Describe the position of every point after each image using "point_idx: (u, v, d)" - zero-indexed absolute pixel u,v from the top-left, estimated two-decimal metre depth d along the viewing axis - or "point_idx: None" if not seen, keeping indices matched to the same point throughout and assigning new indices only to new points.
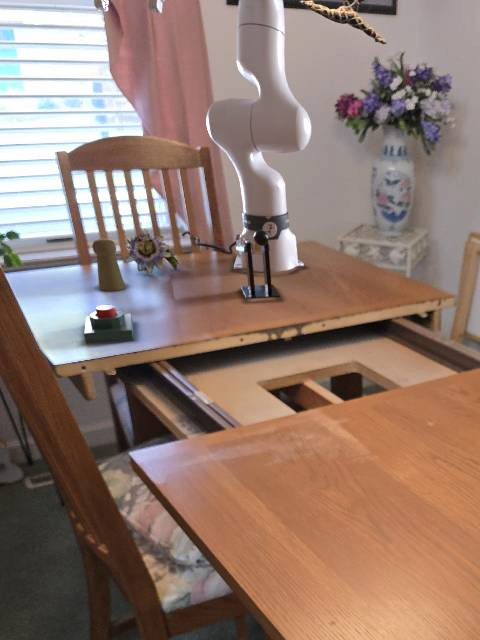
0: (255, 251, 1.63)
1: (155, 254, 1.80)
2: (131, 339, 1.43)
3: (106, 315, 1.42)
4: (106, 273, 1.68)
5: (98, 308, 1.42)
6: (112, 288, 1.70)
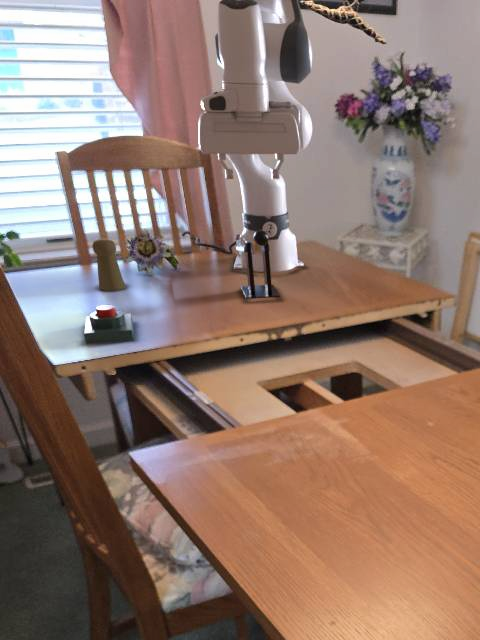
0: (255, 251, 1.63)
1: (155, 254, 1.80)
2: (131, 339, 1.43)
3: (106, 315, 1.42)
4: (106, 273, 1.68)
5: (98, 308, 1.42)
6: (112, 288, 1.70)
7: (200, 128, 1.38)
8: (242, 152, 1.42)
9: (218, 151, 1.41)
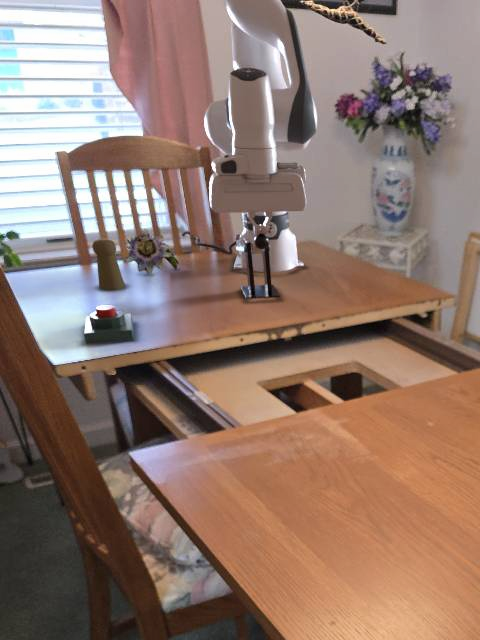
0: (255, 252, 1.63)
1: (155, 254, 1.80)
2: (131, 339, 1.43)
3: (106, 315, 1.42)
4: (106, 273, 1.68)
5: (98, 308, 1.42)
6: (112, 288, 1.70)
7: (212, 189, 1.45)
8: (251, 210, 1.49)
9: (229, 210, 1.48)
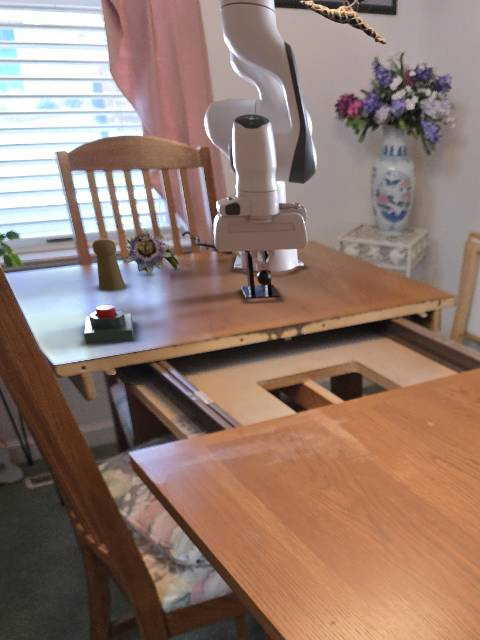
0: None
1: (155, 254, 1.80)
2: (131, 339, 1.43)
3: (106, 315, 1.42)
4: (106, 273, 1.68)
5: (98, 308, 1.42)
6: (112, 288, 1.70)
7: (216, 230, 1.50)
8: (254, 249, 1.54)
9: (232, 249, 1.53)
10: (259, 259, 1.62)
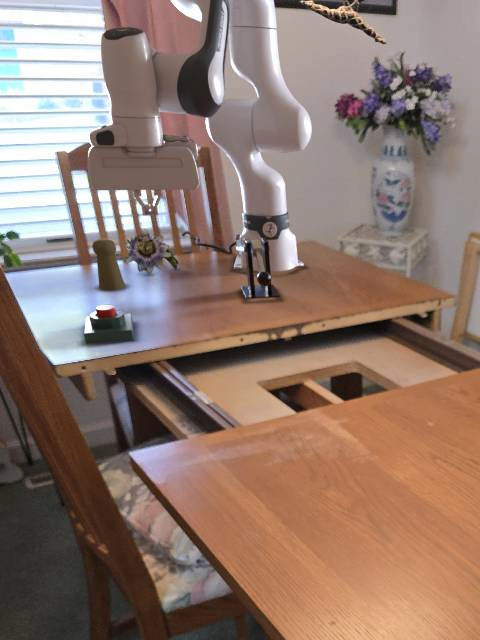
0: (255, 255, 1.65)
1: (155, 254, 1.80)
2: (131, 339, 1.43)
3: (106, 315, 1.42)
4: (106, 273, 1.68)
5: (98, 308, 1.42)
6: (112, 288, 1.70)
7: (88, 164, 1.30)
8: (136, 188, 1.35)
9: (110, 187, 1.33)
10: (259, 259, 1.62)
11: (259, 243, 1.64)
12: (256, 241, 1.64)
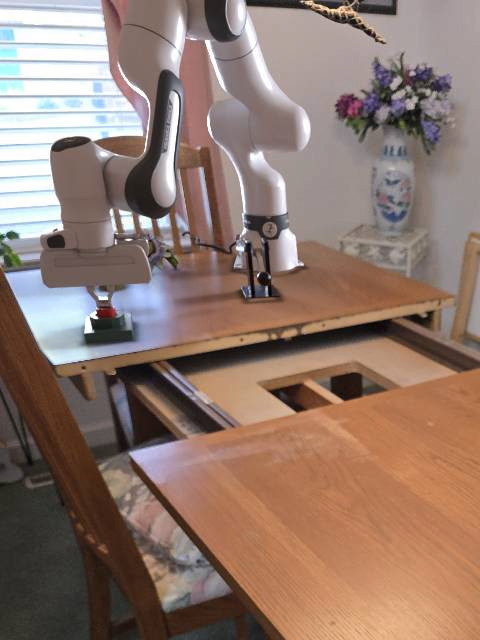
0: (255, 255, 1.65)
1: (155, 254, 1.80)
2: (131, 339, 1.43)
3: (106, 315, 1.42)
4: None
5: (98, 308, 1.42)
6: None
7: (41, 265, 1.33)
8: (89, 284, 1.38)
9: (63, 285, 1.37)
10: (259, 259, 1.62)
11: (259, 243, 1.64)
12: (256, 241, 1.64)
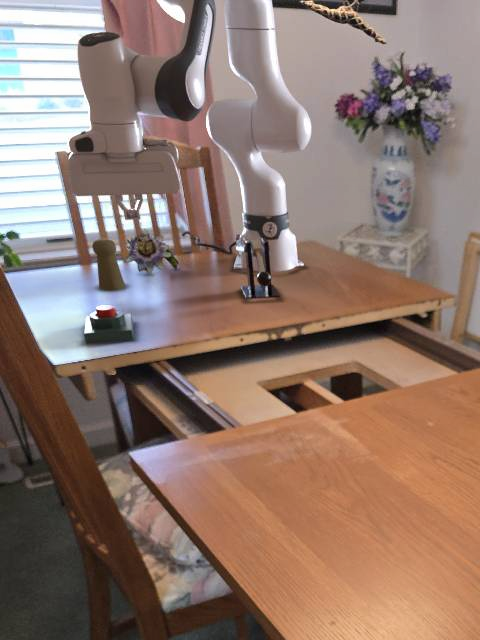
0: (255, 255, 1.65)
1: (155, 254, 1.80)
2: (131, 339, 1.43)
3: (106, 315, 1.42)
4: (106, 273, 1.68)
5: (98, 308, 1.42)
6: (112, 288, 1.70)
7: (68, 170, 1.30)
8: (117, 193, 1.35)
9: (91, 193, 1.34)
10: (259, 259, 1.62)
11: (259, 243, 1.64)
12: (256, 241, 1.64)
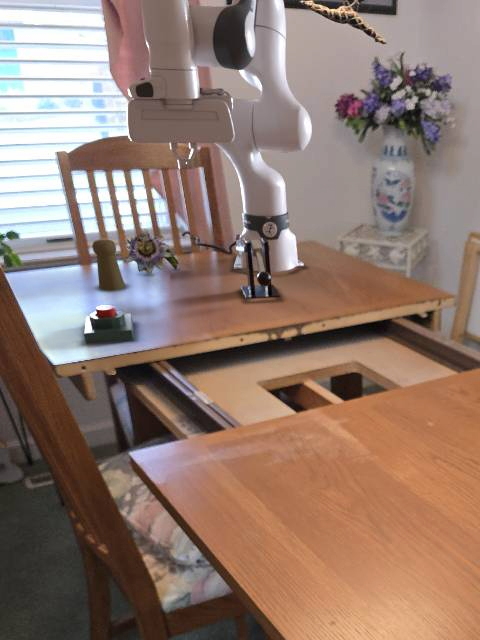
0: (255, 255, 1.65)
1: (155, 254, 1.80)
2: (131, 339, 1.43)
3: (106, 315, 1.42)
4: (106, 273, 1.68)
5: (98, 308, 1.42)
6: (112, 288, 1.70)
7: (128, 116, 1.33)
8: (173, 141, 1.38)
9: (148, 140, 1.36)
10: (259, 259, 1.62)
11: (259, 243, 1.64)
12: (256, 241, 1.64)
